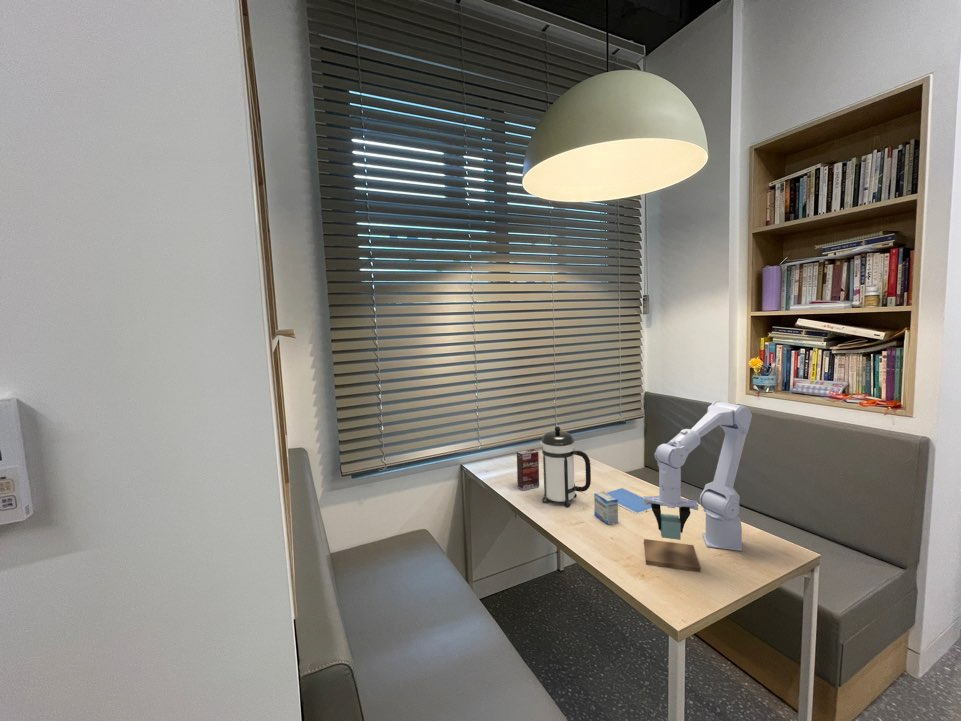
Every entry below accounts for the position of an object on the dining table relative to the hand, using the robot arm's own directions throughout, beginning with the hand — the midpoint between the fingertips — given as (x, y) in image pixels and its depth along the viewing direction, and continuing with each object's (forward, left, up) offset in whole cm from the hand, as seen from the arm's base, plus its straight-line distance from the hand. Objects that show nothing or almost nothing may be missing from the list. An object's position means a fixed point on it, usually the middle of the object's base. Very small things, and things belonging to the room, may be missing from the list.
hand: (670, 529), depth 119 cm
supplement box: (+52, -40, -8) cm, 66 cm away
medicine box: (+19, -19, -8) cm, 28 cm away
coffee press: (+36, -31, -8) cm, 48 cm away
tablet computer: (+11, -36, -9) cm, 39 cm away
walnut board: (0, 0, -8) cm, 8 cm away
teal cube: (0, 0, -2) cm, 2 cm away
